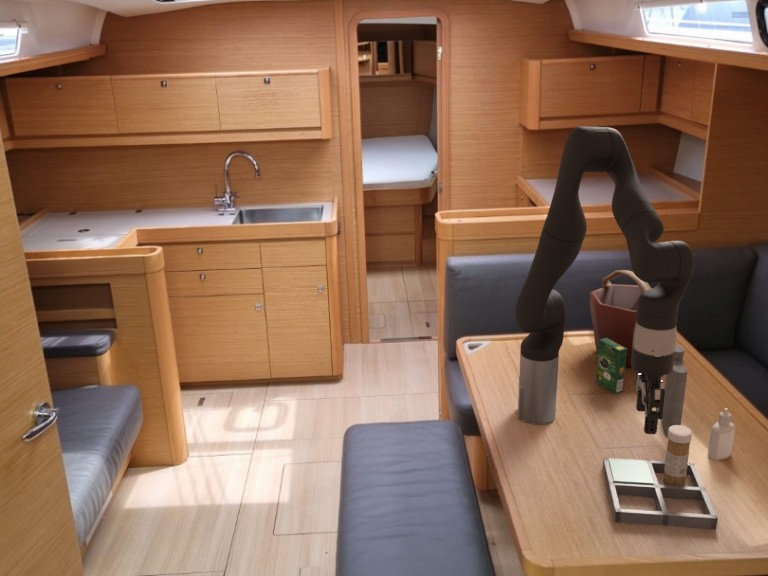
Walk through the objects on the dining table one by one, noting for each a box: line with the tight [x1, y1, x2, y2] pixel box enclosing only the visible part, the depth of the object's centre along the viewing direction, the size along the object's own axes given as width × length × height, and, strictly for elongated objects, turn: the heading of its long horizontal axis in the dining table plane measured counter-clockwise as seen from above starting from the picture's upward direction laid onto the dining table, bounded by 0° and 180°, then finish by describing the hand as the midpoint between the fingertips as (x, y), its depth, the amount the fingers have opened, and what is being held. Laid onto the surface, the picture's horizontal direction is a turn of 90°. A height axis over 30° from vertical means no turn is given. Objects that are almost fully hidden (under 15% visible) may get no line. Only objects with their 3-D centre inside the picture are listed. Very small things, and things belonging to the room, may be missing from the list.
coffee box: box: [595, 338, 627, 395], centre depth 194 cm, size 8×3×13 cm, turn 26°
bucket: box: [589, 269, 653, 370], centre depth 210 cm, size 24×22×25 cm
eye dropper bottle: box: [707, 407, 736, 461], centre depth 162 cm, size 4×6×12 cm
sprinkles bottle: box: [662, 424, 693, 486], centre depth 152 cm, size 5×5×14 cm
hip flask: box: [660, 344, 688, 439], centre depth 175 cm, size 16×4×20 cm, turn 162°
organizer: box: [602, 457, 719, 530], centre depth 151 cm, size 19×19×3 cm
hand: (645, 421), depth 141 cm, fingers open, 8 cm apart
